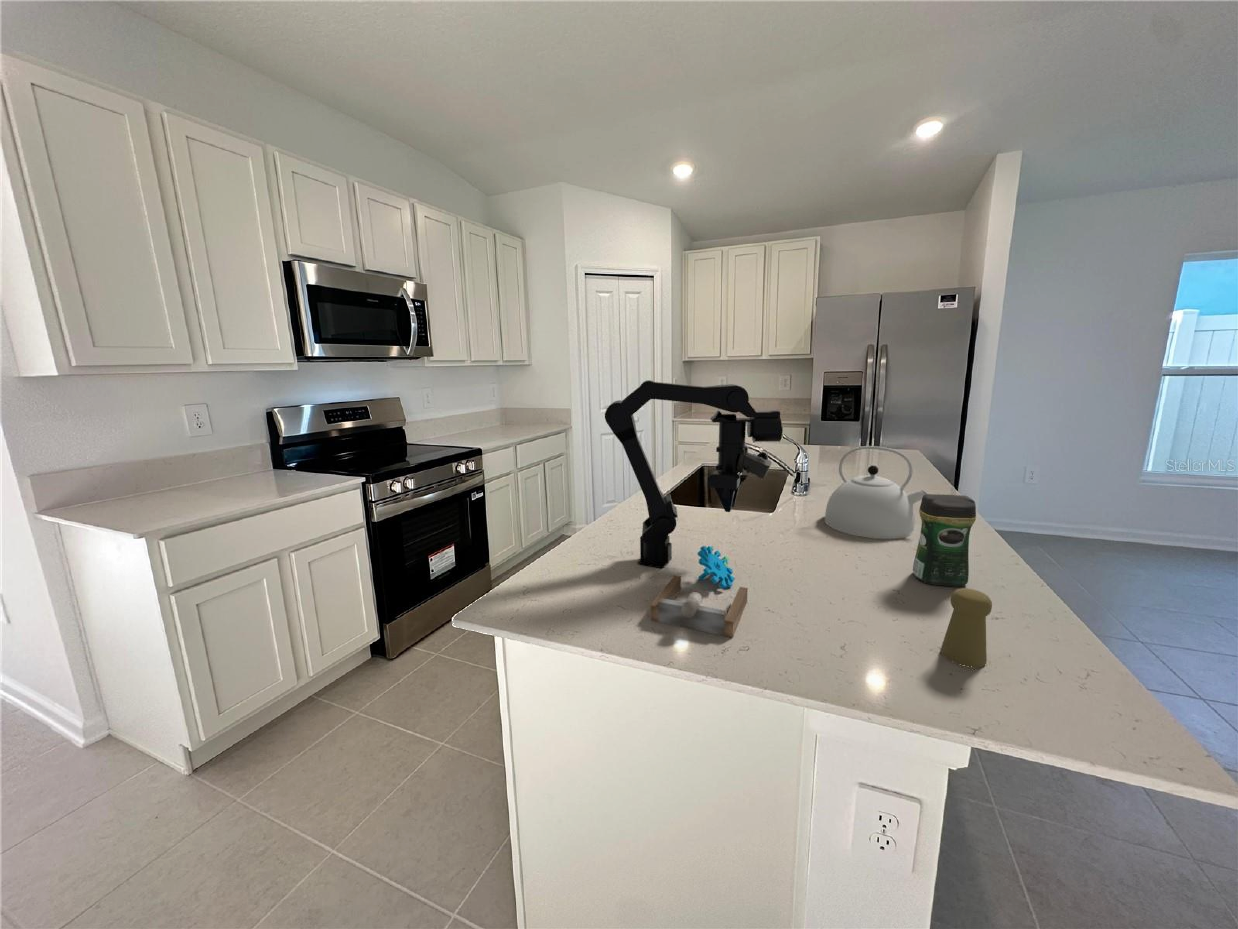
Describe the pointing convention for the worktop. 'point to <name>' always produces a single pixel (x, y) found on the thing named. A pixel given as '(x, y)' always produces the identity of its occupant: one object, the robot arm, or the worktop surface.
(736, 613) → the cradle
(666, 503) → the robot arm
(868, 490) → the kettle
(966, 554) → the coffee jar
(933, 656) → the worktop surface
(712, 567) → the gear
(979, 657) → the cork
